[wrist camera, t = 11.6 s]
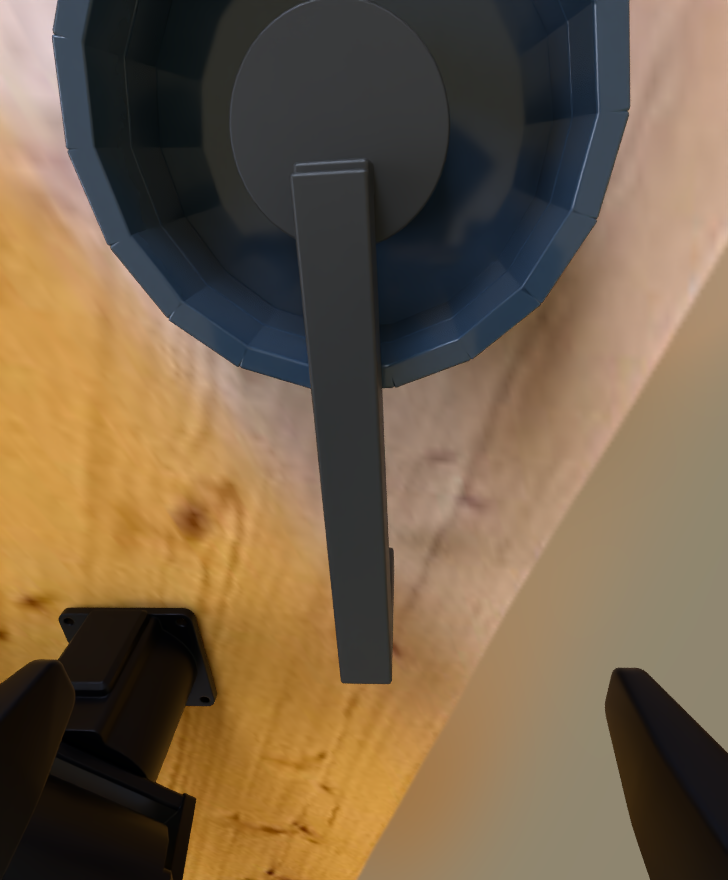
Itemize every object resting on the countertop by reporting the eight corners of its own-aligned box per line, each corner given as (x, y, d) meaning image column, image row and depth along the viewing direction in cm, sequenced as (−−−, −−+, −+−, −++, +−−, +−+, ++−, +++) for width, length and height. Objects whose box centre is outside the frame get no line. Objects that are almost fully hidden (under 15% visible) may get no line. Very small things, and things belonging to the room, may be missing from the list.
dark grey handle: (439, 571, 22) (450, 686, 17) (310, 571, 22) (284, 683, 17) (442, 21, 14) (463, -66, 9) (246, 38, 15) (165, -36, 10)
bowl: (550, 332, 18) (590, 383, 14) (189, 345, 19) (134, 396, 15) (605, -192, 13) (699, -348, 9) (85, -133, 14) (-46, -248, 10)
